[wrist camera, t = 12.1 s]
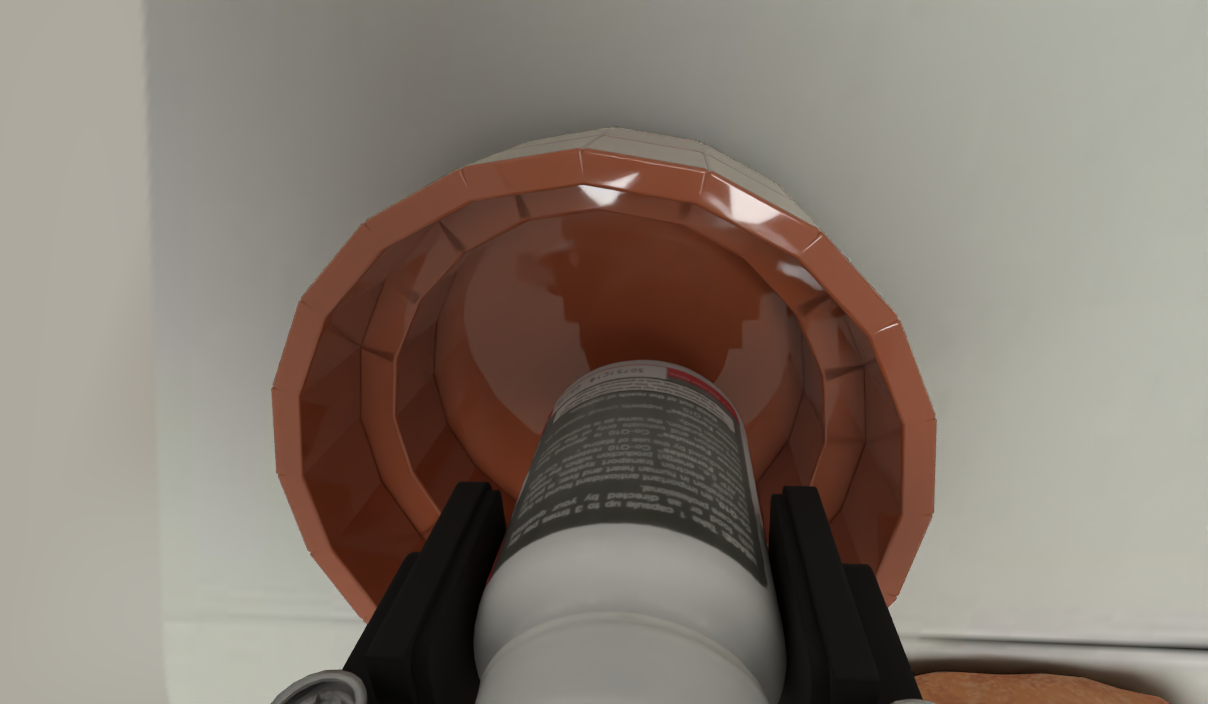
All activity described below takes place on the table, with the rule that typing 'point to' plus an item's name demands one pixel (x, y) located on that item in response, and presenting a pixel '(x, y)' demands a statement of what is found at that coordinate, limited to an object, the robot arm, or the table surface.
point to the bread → (1023, 690)
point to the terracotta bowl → (590, 347)
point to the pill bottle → (634, 554)
